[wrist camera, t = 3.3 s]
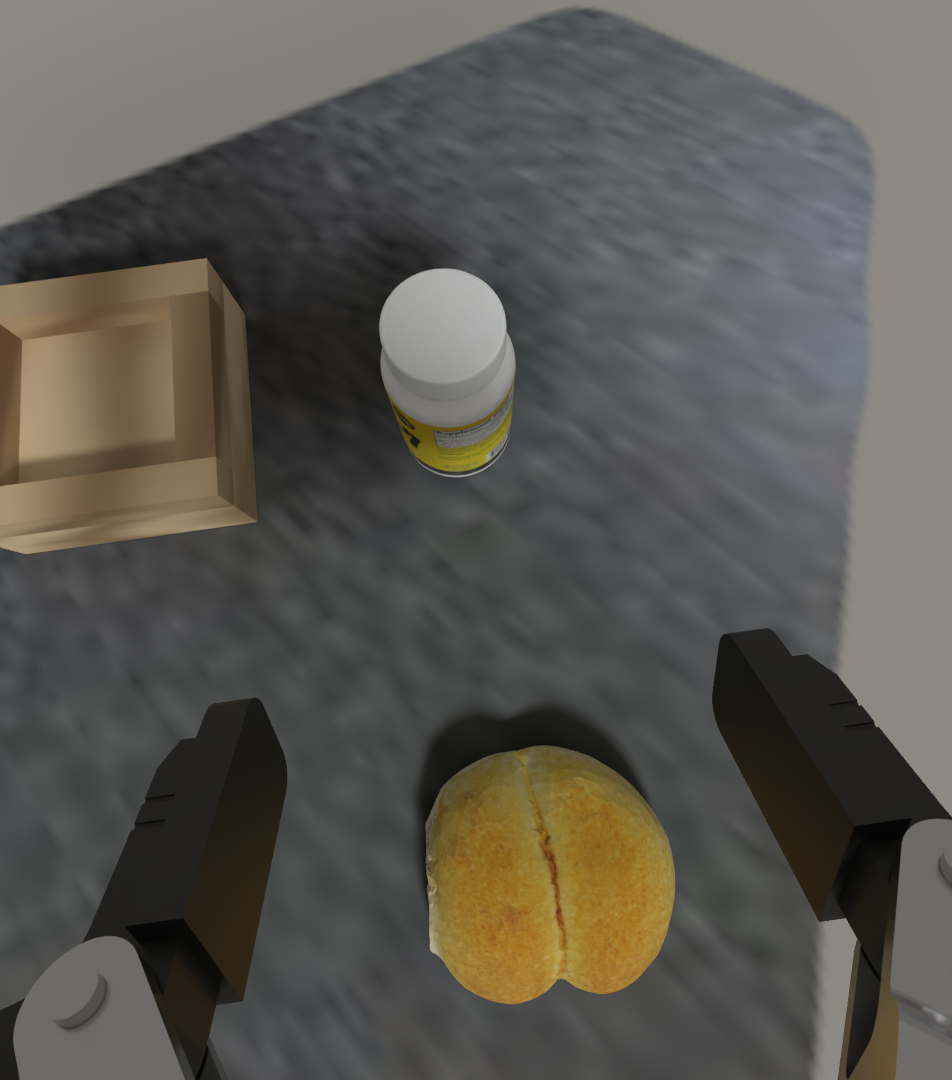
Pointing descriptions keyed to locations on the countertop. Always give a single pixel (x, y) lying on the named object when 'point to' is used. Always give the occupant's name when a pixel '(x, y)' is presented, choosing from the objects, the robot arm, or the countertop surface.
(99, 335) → the oak base
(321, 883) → the countertop surface
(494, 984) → the bread roll
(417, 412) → the supplement bottle
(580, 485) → the countertop surface
